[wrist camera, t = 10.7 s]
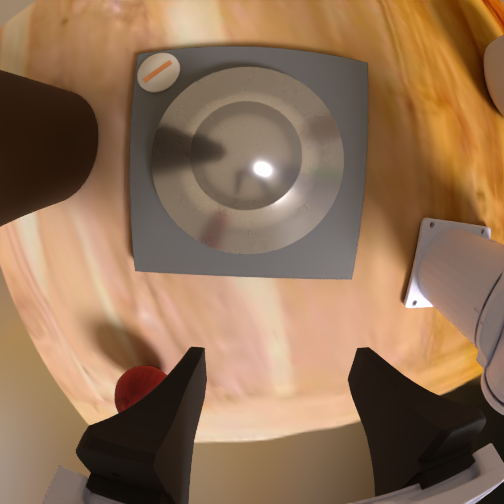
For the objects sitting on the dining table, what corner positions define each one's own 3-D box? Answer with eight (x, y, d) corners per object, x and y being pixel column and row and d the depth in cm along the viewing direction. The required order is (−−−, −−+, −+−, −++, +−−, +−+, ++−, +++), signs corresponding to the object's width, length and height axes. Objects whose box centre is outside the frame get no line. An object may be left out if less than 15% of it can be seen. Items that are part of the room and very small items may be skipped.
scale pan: (342, 80, 15) (346, 77, 14) (331, 254, 19) (334, 257, 18) (159, 73, 15) (156, 70, 14) (156, 247, 18) (153, 250, 18)
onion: (138, 388, 25) (114, 446, 17) (123, 346, 23) (88, 405, 15) (190, 393, 25) (177, 457, 17) (181, 350, 23) (159, 418, 15)
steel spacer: (286, 125, 15) (305, 106, 10) (281, 196, 17) (297, 213, 11) (213, 121, 15) (193, 100, 10) (209, 192, 17) (188, 207, 11)
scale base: (361, 67, 16) (369, 60, 14) (347, 273, 21) (353, 282, 19) (143, 59, 16) (135, 52, 14) (140, 265, 21) (132, 273, 19)
